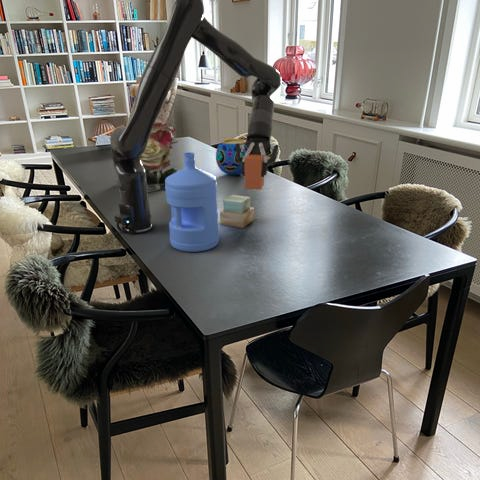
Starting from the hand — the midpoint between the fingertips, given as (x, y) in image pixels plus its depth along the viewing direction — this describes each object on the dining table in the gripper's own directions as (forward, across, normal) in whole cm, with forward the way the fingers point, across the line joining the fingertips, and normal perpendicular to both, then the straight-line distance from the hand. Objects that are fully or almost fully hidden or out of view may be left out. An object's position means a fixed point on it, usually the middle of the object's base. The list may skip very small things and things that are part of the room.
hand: (253, 175), depth 151 cm
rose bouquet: (-24, -56, +53) cm, 81 cm away
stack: (+5, -8, +23) cm, 25 cm away
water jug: (+21, -17, +8) cm, 28 cm away
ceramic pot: (-41, -23, +70) cm, 85 cm away
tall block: (+2, 0, +4) cm, 5 cm away
